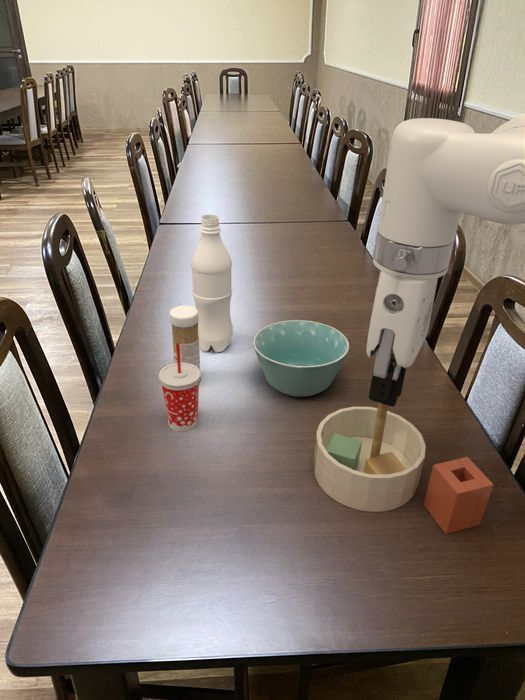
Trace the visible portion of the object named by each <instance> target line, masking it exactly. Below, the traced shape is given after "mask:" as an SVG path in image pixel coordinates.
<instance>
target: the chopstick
mask: <svg viewBox="0 0 525 700" xmlns="http://www.w3.org/2000/svg"><path fill="white" fill-rule="evenodd" d="M389 364H393V365H394V366H395V362H391V361H390V363H389ZM377 408H378V409H377V415H376V422H375V428H374V435H373V441H372V448H371V454H370V458H372V457H375V456H378V455H380V451H381V445H382V439H383V434H384V428H385V422H386V416H387V411H389V410H388V409H389V406H388V405H385V404H382V403H378V402H377Z"/></svg>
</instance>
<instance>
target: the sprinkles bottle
mask: <svg viewBox="0 0 525 700" xmlns="http://www.w3.org/2000/svg"><path fill="white" fill-rule="evenodd" d="M198 321H199V315H198V310H197V309H196V306H192V305H186V304H183V305H178V306H175V307H173V308H172V309H171V310H170V311H169V322H170V324H171V332H172V333H171V335H172V352H173V353H172V354H173V364H174V363H177V352H176V344H177V343H179V348H180V362H181V363H189V364H193V365H195V366H197V367H198V368H199V370H200V371H201V366H200V365H201V357H200V356H201V353H200V352H201V351H200V350H201V349H200V347H199V336H198ZM200 379H201V380H202V376H201V377H200ZM201 380H200V381H199V383H200V382H201Z"/></svg>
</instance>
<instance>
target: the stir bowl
mask: <svg viewBox="0 0 525 700" xmlns="http://www.w3.org/2000/svg"><path fill="white" fill-rule="evenodd" d="M377 409H378V407H372V406H350V407H343V408H339V409H337V410H336V411H334V412H331V413H329V414H328V415H326V416H325V417H324V418H323V419H322V420H321V422H320V423H319V424H318V428H317V430H316V433H315V445H314V453H313V474H314V478H315V480H316V481H317V484H318V485H319V487H320V488H321V489H322V491H323V492H324V493H325V494H326V495H327V496H329V498H331V499H332V500H334V501H336V502H337V503H339V504H341V505H343V506H345V507H346V508H347V507H348V508H350V509H353V510H357V511H362V512H368V513H380V512H389V511H392V510H395V509H398V508H400V507H402V506H404V505H406V504H407V503H408V502H409V501H410V500H412V498H413V497H414V496H415V495H416V492H417V489H418V486H419V483H420V479H421V475H422V470H423V466H424V462H425V458H426V449H427V448H426V447H427V446H426V443H425V440H424V437H423V434H422V433H421V432H420V431H419V430H418V429H417V427H415V425H414V424H413V423H411V422H410V421H409V420H407V419H406V418H404V417H403V416H401V415H399V414H396V413H395V412H391V411H389V410H387V416H386V422H385V428H384V434H383V439H382V445H381V451H380V455H382V454H385V453H388V452H393V454H394V455H395V456H396V457H397V458H398V460H399V461H400V462H401V463H402V464H403V465H404V467H405V468H406V469H405V470H404V471H401V472H397V473H392V474H388V475H387V474H368V473H364V467H365V460H366V459H369V458H370V454H371V448H372V441H373V435H374V428H375V422H376V415H377ZM333 433H335V434H339V435H342V436H346V437H350V438H353V439H357V440H361V441H362V444H361V451H360V457H359V463H358V466H357V469H356V471H355V470H353V469H351V468H349V467H346V466H344V465H342V464H340V463H339V462H338V461H336V460H335V459H334V458H333V457H332V456H330V455H329V454H328V452H327V450H326V449H327V447H328V444H329V442H330V440H331V438H332V436H333Z"/></svg>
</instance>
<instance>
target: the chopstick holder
mask: <svg viewBox="0 0 525 700" xmlns="http://www.w3.org/2000/svg"><path fill="white" fill-rule="evenodd" d="M493 487H494V484H493V482H492V481H491V480H490V479H489V478H488V477H487V475H485V474H484V472H483V471H482V470H481V469H480V468H479V467H478V466H477V465H476V464H475V463H474V462H473V461H472V460H471V459H470V458H469V457H468V456H465V457H461V458H456V459H452V460H448V461H444V462H443V461H442V462H438V463H435V464H433V465H432V468H431V472H430V476H429V481H428V484H427V488H426V493H425V496H424V501H423V506H424V508H425V509H426V511H427V512H428V513H429V514H430V516H431V517H432V518H433V520H434V521H435V522H436V524H437V525H438V526H439V528H440V529H441V530H442V532H443V533H444V535H450V534H453V533H456V532H459V531H463V530H466V529H470V528H474V527H477V526H478V527H479V526H480V525H481V523H482V521H483V518H484V514H485V511H486V508H487V506H488V502H489V499H490V496H491V493H492V491H493Z"/></svg>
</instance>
